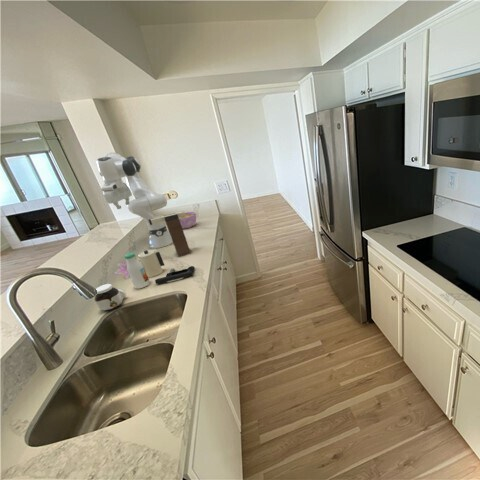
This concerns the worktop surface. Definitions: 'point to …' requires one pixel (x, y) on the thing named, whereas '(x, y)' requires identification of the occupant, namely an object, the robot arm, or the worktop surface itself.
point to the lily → (123, 269)
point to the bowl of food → (188, 220)
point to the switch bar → (161, 219)
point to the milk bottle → (136, 272)
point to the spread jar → (109, 297)
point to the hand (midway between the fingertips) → (123, 206)
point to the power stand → (177, 235)
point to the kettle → (151, 262)
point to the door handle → (176, 275)
